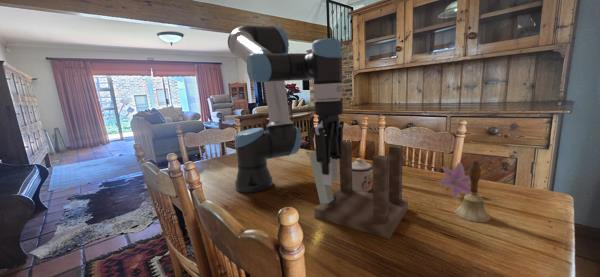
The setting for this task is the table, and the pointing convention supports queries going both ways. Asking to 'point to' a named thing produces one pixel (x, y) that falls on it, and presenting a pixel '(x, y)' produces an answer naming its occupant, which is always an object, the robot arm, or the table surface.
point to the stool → (368, 196)
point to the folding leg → (320, 180)
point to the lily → (456, 180)
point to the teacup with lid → (361, 175)
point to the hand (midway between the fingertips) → (330, 182)
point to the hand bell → (473, 199)
